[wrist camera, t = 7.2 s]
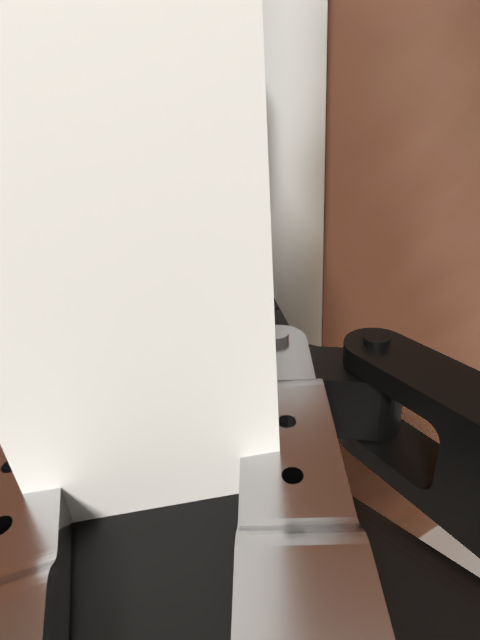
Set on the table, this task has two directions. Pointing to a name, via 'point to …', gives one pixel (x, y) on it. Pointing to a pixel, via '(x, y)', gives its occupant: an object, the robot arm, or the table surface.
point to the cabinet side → (297, 155)
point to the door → (134, 250)
